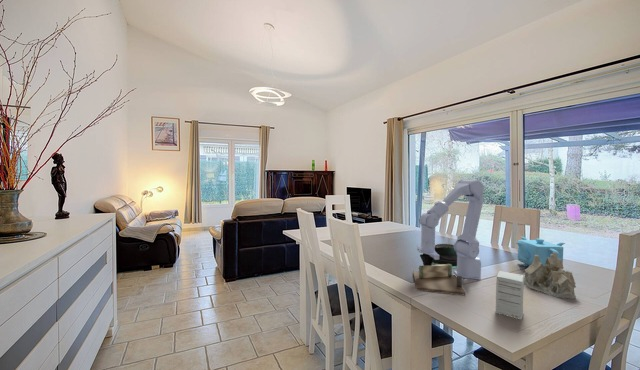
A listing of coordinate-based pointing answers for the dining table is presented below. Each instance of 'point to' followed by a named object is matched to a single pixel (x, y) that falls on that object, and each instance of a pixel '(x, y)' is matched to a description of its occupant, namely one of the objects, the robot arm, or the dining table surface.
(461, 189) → the robot arm
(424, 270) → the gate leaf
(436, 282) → the board
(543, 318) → the dining table surface
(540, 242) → the teakettle
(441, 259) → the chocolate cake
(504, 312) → the supplement box
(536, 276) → the ceramic cottage
